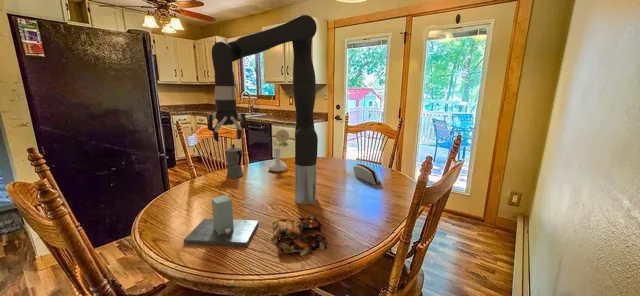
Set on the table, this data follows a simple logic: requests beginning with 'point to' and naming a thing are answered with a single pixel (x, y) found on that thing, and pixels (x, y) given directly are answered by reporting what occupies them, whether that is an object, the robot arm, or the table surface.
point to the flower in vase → (277, 164)
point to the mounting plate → (209, 236)
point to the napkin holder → (366, 173)
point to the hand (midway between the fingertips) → (228, 140)
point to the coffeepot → (234, 162)
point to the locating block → (222, 214)
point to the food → (298, 236)
